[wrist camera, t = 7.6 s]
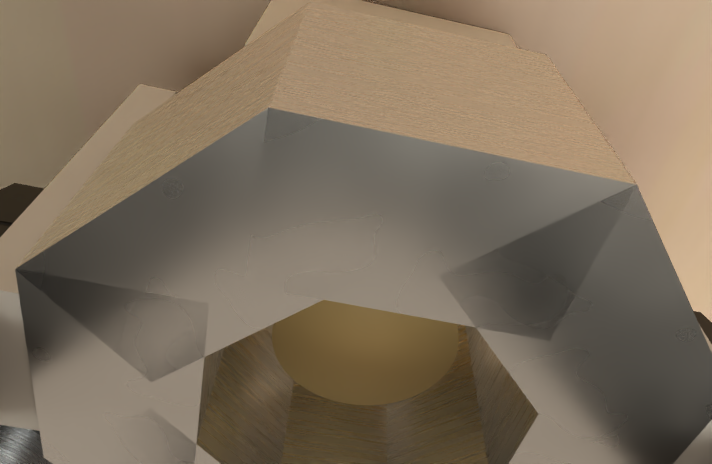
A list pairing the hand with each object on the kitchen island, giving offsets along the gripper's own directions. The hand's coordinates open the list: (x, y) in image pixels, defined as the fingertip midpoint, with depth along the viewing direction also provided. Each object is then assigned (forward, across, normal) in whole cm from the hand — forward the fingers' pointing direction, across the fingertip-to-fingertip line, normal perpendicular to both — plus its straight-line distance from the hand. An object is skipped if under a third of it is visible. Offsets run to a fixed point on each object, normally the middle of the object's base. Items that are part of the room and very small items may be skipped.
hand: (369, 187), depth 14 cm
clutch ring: (-3, 0, 0) cm, 3 cm away
